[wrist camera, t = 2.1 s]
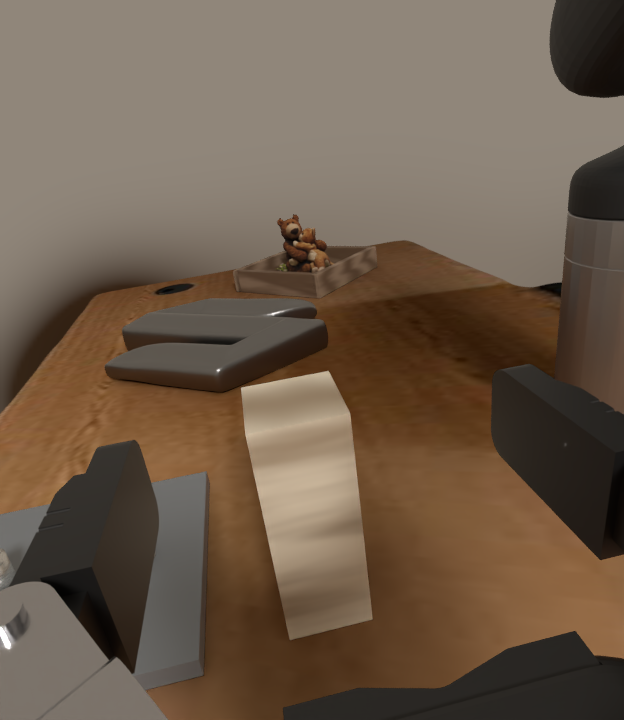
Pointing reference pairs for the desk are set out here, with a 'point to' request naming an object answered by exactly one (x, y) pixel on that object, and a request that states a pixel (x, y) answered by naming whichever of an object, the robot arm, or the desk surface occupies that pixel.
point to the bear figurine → (302, 248)
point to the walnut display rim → (305, 284)
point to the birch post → (309, 500)
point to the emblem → (218, 342)
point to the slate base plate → (167, 583)
